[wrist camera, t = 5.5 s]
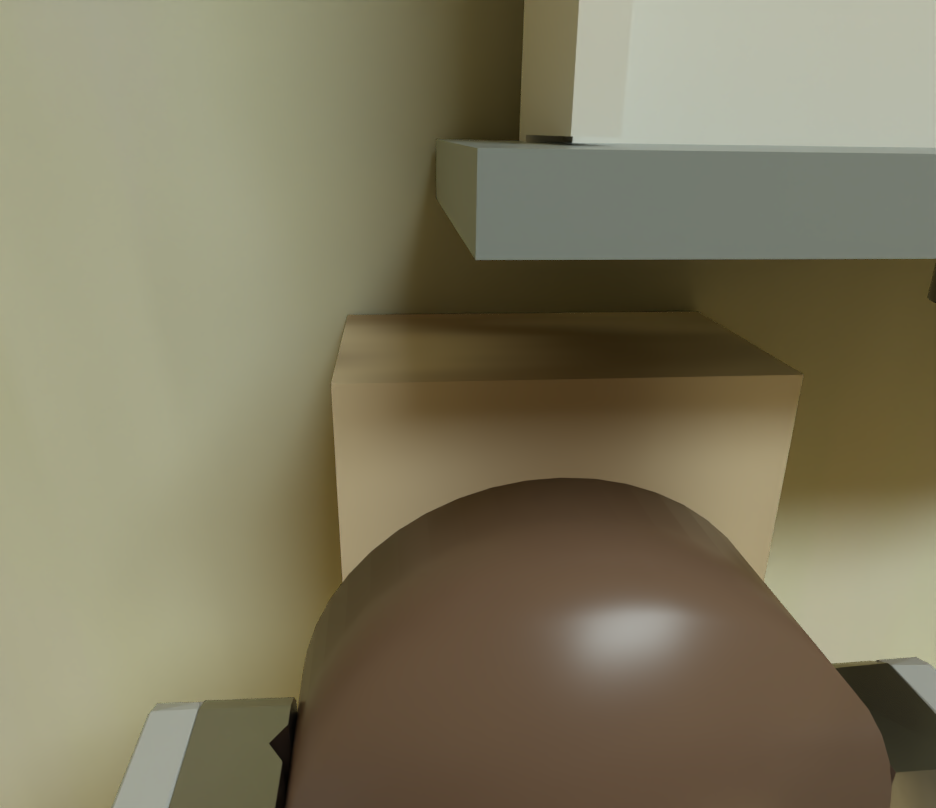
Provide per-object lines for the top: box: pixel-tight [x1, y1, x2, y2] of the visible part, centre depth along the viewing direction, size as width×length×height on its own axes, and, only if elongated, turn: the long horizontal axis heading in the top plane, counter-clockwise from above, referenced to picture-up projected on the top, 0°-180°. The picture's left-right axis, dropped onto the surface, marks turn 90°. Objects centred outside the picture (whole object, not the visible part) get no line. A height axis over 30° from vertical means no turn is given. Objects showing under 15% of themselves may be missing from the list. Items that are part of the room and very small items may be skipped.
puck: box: [284, 478, 892, 808], centre depth 8 cm, size 6×6×2 cm
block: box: [331, 311, 804, 582], centre depth 13 cm, size 7×7×4 cm
